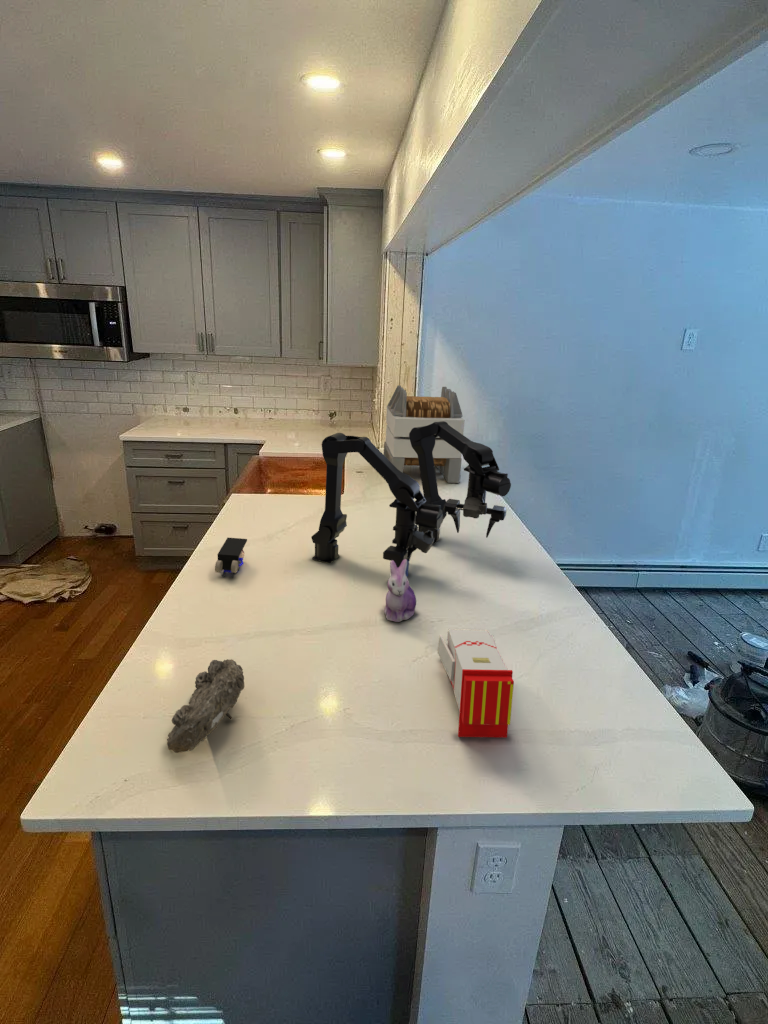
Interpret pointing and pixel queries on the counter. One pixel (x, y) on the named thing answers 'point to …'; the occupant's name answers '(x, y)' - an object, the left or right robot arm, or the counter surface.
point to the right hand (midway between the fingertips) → (472, 534)
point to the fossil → (206, 705)
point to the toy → (478, 682)
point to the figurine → (399, 594)
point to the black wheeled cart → (230, 556)
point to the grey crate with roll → (417, 414)
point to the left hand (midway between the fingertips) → (402, 571)
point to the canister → (407, 568)
